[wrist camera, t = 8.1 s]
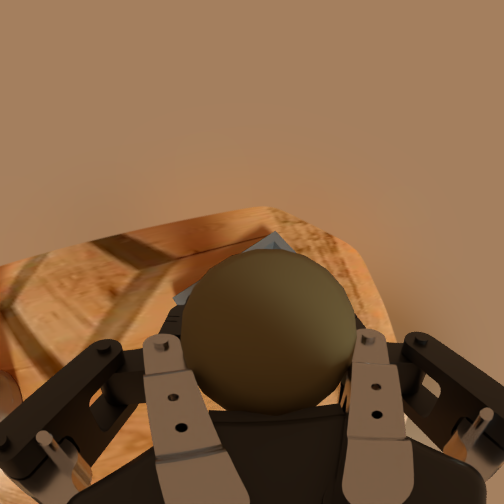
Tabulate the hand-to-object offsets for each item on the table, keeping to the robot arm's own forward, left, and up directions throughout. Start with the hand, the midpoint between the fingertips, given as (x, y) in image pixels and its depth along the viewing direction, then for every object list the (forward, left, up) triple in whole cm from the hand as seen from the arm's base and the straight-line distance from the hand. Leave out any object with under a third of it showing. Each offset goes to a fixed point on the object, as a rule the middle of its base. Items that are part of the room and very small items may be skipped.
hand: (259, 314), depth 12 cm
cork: (-1, -2, -5) cm, 6 cm away
